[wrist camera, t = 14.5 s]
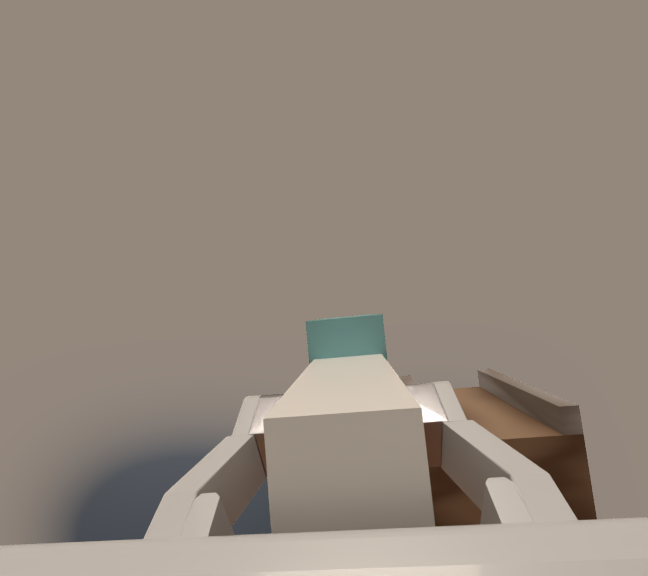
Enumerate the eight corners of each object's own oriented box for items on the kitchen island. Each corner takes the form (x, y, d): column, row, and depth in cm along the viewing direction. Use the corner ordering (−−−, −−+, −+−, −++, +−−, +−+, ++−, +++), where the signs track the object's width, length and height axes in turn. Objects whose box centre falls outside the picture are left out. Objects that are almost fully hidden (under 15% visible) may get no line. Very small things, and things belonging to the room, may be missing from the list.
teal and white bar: (377, 370, 27) (371, 314, 27) (448, 529, 7) (422, 313, 7) (327, 374, 27) (322, 318, 28) (260, 537, 7) (245, 329, 8)
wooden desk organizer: (535, 707, 28) (483, 329, 30) (673, 1004, 16) (568, 339, 18) (341, 708, 29) (307, 345, 32) (333, 985, 17) (280, 364, 20)
